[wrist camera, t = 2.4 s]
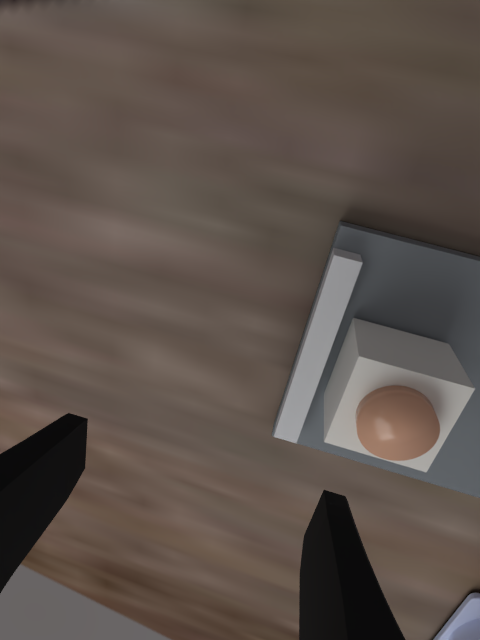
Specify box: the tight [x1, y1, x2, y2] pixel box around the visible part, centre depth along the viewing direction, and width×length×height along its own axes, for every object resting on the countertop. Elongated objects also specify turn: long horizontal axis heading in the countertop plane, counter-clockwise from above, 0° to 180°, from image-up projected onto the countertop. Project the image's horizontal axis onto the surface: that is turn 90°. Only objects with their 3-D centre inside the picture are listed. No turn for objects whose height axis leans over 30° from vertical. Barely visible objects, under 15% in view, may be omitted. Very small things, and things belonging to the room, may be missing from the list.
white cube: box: [324, 318, 475, 472], centre depth 18 cm, size 4×4×4 cm
